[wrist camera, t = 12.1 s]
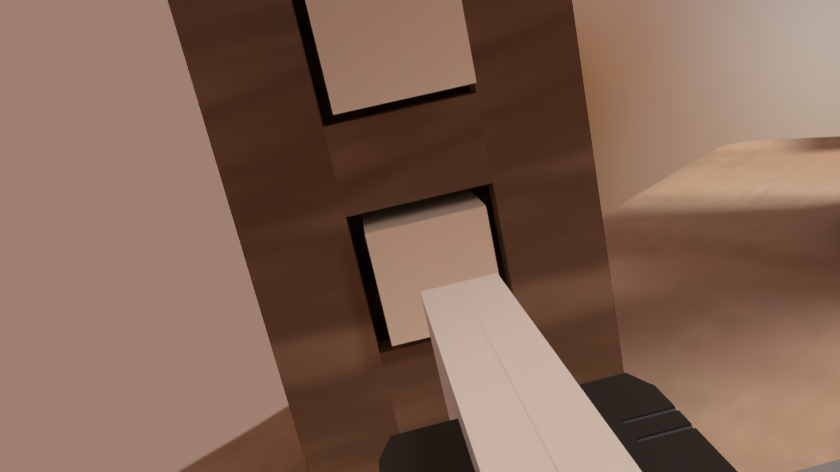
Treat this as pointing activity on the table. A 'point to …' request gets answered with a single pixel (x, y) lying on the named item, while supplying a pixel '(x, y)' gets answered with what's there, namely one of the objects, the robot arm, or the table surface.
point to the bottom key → (426, 254)
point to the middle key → (389, 49)
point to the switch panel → (398, 203)
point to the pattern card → (824, 467)
